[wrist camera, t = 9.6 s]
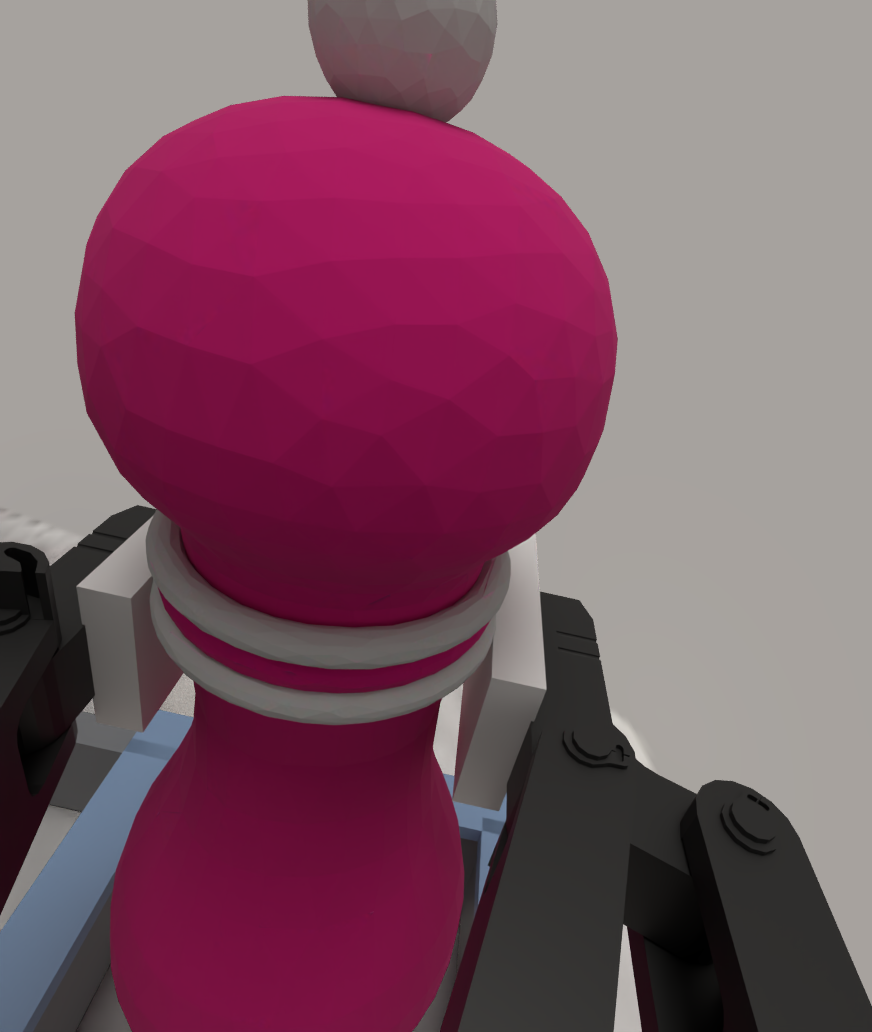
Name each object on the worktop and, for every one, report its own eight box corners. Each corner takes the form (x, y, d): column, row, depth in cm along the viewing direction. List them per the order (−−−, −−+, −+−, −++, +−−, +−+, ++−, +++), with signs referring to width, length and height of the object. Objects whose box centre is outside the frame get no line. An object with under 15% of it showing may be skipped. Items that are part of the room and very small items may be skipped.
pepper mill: (160, 842, 17) (84, -99, 7) (404, 824, 19) (609, 53, 9) (83, 1219, 11) (-928, -1212, 1) (451, 1140, 13) (1202, -117, 3)
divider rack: (-626, 1138, 13) (-804, 1059, 11) (-132, 723, 23) (-170, 635, 21) (493, 1392, 13) (553, 1367, 11) (501, 865, 23) (533, 793, 21)
